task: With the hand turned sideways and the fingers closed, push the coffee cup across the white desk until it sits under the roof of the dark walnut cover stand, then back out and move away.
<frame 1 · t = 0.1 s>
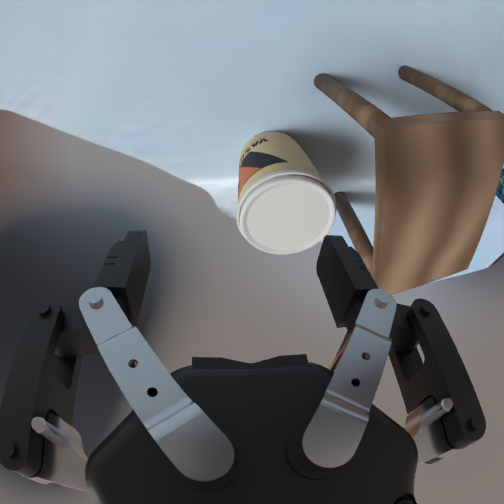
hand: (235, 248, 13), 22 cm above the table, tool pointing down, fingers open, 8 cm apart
coffee cup: (270, 158, 34), on the table
cover stand: (372, 137, 32), on the table
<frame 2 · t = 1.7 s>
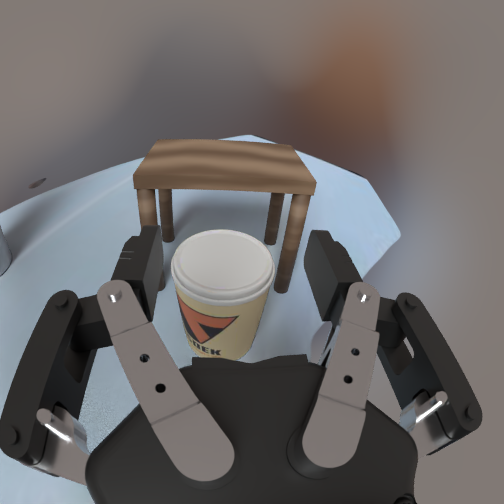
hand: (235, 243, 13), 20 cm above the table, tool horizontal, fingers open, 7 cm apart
coffee cup: (220, 337, 33), on the table
cover stand: (219, 261, 43), on the table
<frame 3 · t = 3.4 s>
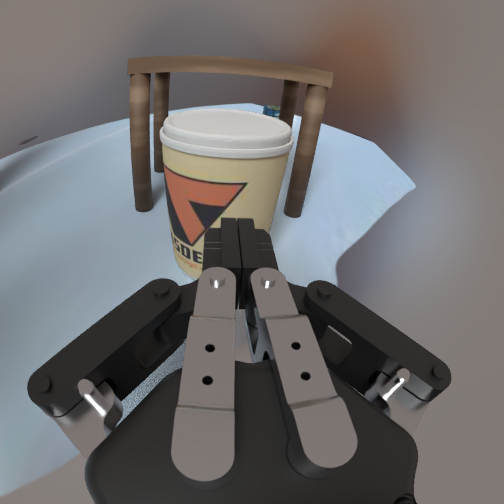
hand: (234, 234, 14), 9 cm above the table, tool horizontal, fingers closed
coffee cup: (217, 256, 26), on the table
cover stand: (218, 187, 36), on the table
puzzle: (274, 132, 63), on the table
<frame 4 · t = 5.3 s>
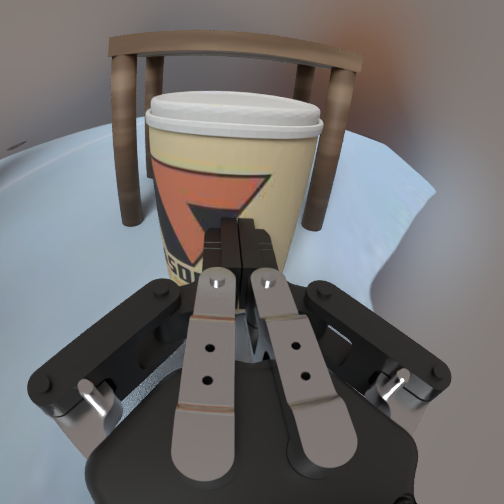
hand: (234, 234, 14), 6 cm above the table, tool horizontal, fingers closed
coffee cup: (224, 277, 20), on the table, touching gripper
cover stand: (222, 195, 30), on the table
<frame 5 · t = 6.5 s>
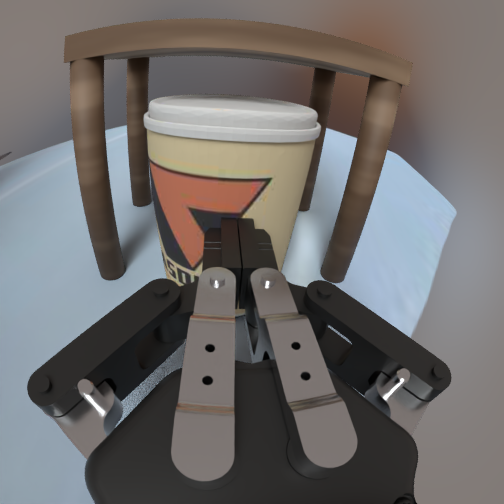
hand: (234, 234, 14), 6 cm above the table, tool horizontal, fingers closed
coffee cup: (221, 279, 20), on the table, touching gripper
cover stand: (222, 232, 25), on the table
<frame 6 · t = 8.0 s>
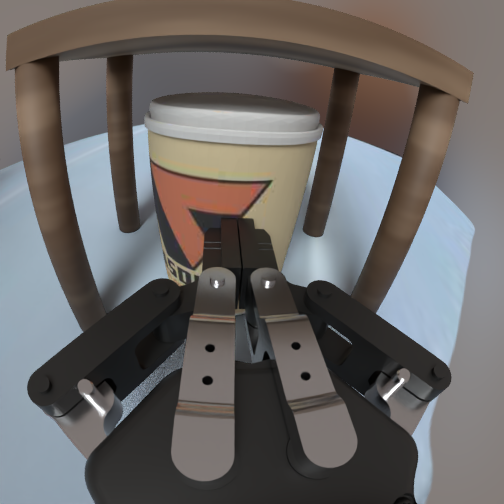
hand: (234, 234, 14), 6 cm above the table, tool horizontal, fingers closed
coffee cup: (222, 277, 21), on the table, touching gripper
cover stand: (223, 268, 21), on the table
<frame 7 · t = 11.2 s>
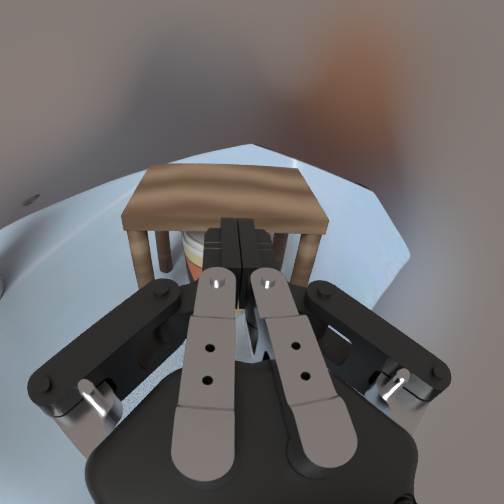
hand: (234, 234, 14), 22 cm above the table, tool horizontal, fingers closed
coffee cup: (220, 300, 39), on the table
cover stand: (220, 295, 40), on the table
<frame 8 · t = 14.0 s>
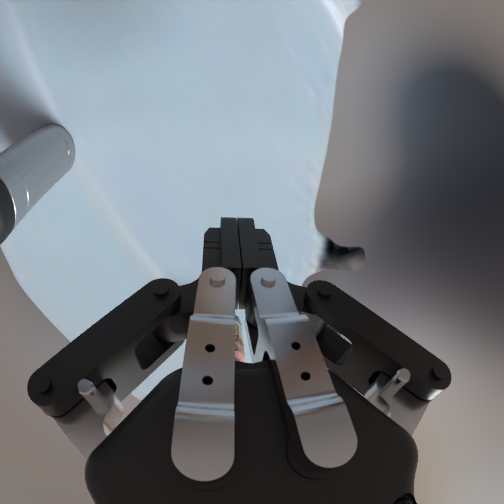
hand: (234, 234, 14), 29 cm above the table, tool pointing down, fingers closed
beverage can: (221, 322, 63), on the table
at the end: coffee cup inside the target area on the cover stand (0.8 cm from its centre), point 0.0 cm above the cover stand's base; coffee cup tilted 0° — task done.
